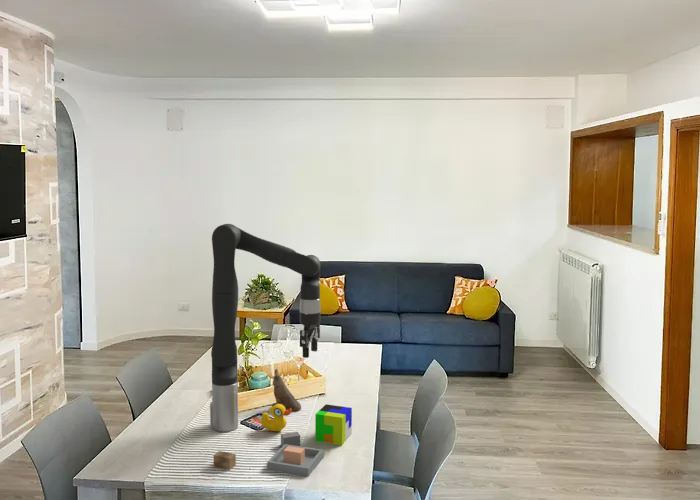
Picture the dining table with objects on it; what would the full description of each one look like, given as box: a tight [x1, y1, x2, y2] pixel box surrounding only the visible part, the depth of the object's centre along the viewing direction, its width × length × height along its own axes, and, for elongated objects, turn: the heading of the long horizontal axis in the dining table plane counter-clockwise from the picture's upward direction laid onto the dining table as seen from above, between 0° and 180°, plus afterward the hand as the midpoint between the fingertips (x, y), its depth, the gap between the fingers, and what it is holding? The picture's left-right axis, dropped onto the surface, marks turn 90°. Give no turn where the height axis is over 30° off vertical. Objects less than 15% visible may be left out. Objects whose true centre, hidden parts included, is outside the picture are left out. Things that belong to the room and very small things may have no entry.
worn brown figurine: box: [270, 368, 302, 413], centre depth 251 cm, size 12×6×18 cm, turn 81°
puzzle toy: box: [314, 404, 353, 446], centre depth 224 cm, size 10×10×10 cm
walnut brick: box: [212, 450, 237, 471], centre depth 202 cm, size 6×4×4 cm, turn 69°
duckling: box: [260, 404, 292, 432], centre depth 230 cm, size 11×5×10 cm, turn 82°
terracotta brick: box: [283, 446, 305, 465], centre depth 204 cm, size 6×4×4 cm, turn 72°
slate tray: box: [266, 444, 325, 477], centre depth 204 cm, size 14×14×3 cm
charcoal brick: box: [280, 431, 301, 447], centre depth 218 cm, size 6×4×4 cm, turn 112°
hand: (310, 354), depth 229 cm, fingers open, 8 cm apart
